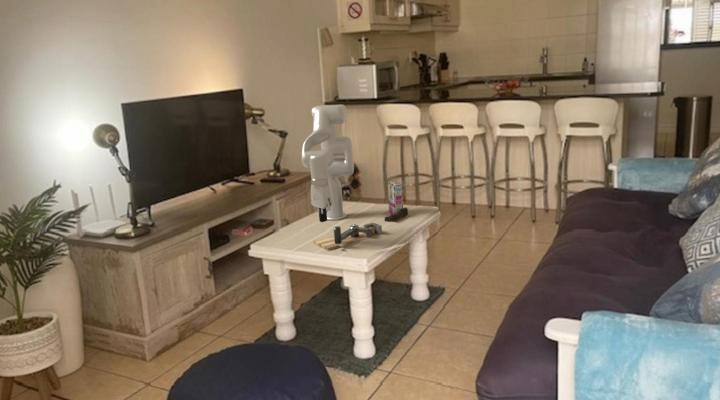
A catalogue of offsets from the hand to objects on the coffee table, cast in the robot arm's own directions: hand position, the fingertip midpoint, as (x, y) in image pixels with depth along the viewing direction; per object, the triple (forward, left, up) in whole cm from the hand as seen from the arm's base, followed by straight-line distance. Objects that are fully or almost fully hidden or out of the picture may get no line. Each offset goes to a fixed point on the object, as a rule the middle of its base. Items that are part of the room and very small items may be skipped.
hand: (323, 221), depth 266 cm
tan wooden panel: (+4, +11, -10) cm, 15 cm away
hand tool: (-10, +48, -11) cm, 50 cm away
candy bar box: (-19, +54, -11) cm, 58 cm away
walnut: (+7, +21, -9) cm, 24 cm away
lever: (+10, +9, -9) cm, 16 cm away
